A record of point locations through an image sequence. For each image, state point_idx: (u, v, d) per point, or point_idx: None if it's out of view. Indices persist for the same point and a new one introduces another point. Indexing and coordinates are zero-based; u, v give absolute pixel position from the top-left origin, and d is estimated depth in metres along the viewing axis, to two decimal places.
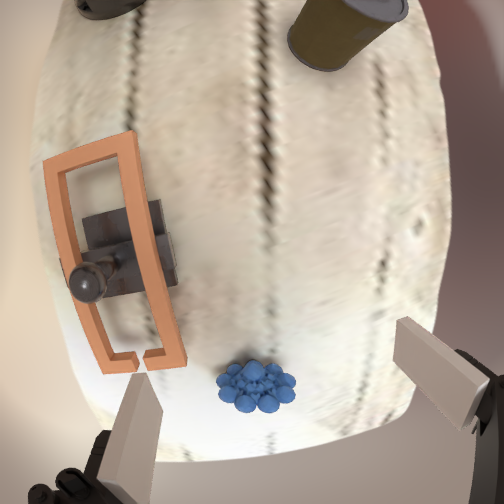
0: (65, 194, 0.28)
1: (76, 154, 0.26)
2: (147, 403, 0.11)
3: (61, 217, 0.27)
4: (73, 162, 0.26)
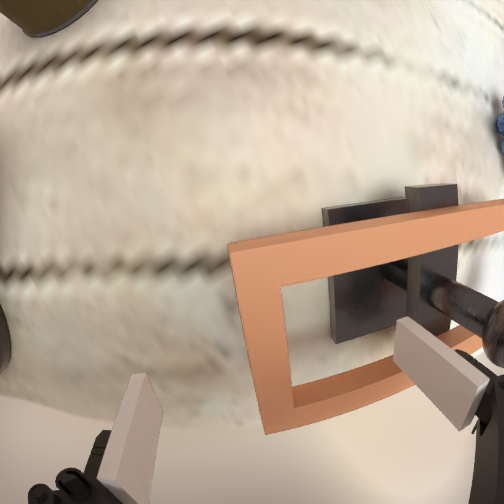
0: (328, 383, 0.17)
1: (267, 376, 0.14)
2: (147, 403, 0.11)
3: (371, 388, 0.16)
4: (282, 380, 0.14)
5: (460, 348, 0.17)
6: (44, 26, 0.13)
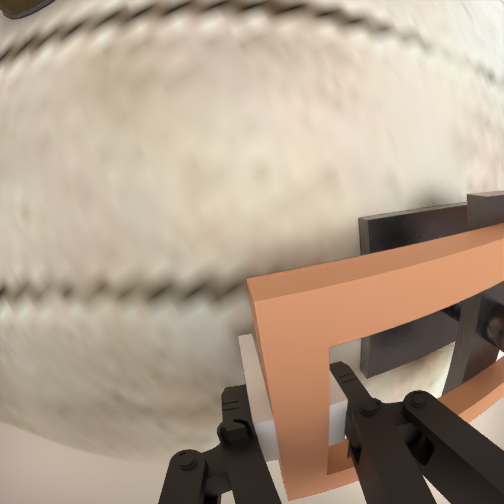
0: None
1: (298, 451, 0.09)
2: None
3: None
4: (317, 453, 0.09)
5: None
6: (24, 4, 0.09)
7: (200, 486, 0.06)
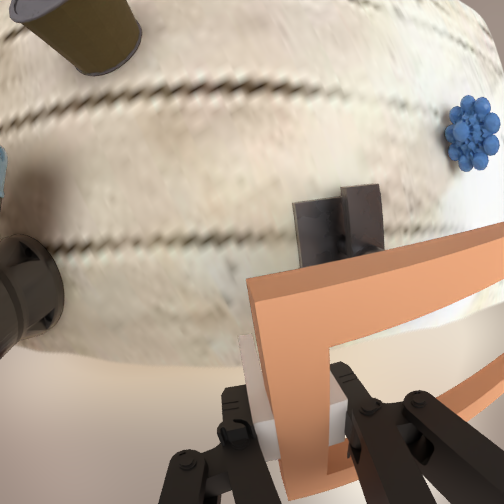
0: None
1: (299, 451, 0.09)
2: None
3: None
4: (318, 452, 0.09)
5: None
6: (97, 69, 0.26)
7: (200, 486, 0.06)
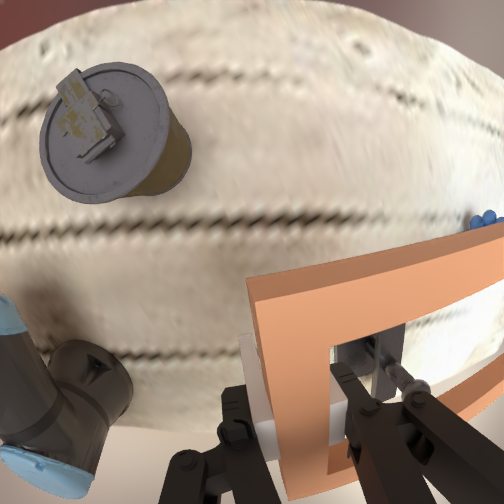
0: None
1: (299, 451, 0.09)
2: None
3: None
4: (318, 453, 0.09)
5: None
6: None
7: (200, 486, 0.06)
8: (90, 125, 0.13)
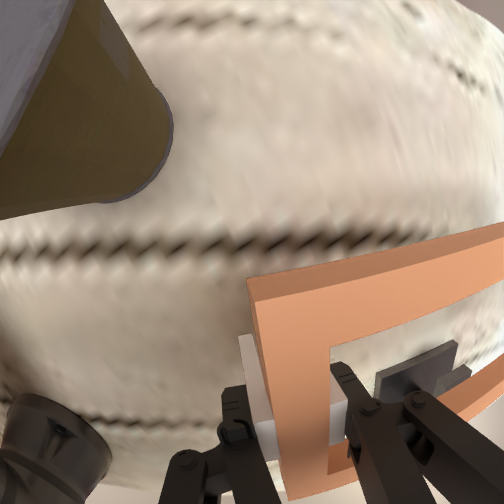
0: None
1: (299, 451, 0.09)
2: None
3: None
4: (318, 453, 0.09)
5: None
6: None
7: (200, 486, 0.06)
8: None
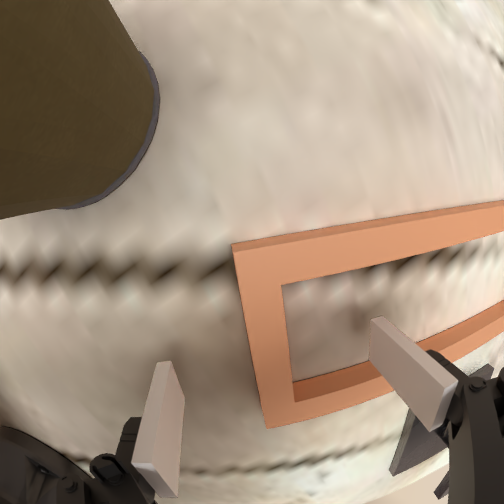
0: (328, 379, 0.17)
1: (269, 371, 0.15)
2: (173, 390, 0.12)
3: (369, 385, 0.16)
4: (283, 375, 0.15)
5: (458, 347, 0.17)
6: None
7: None
8: None
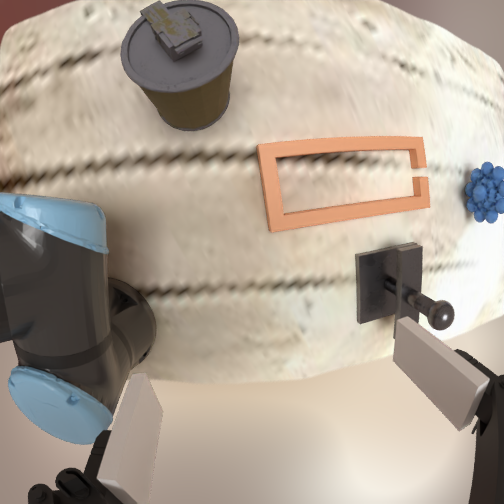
0: (300, 211, 0.40)
1: (271, 195, 0.38)
2: (147, 403, 0.11)
3: (320, 213, 0.39)
4: (278, 198, 0.38)
5: (371, 206, 0.40)
6: (190, 127, 0.35)
7: None
8: (183, 28, 0.16)
